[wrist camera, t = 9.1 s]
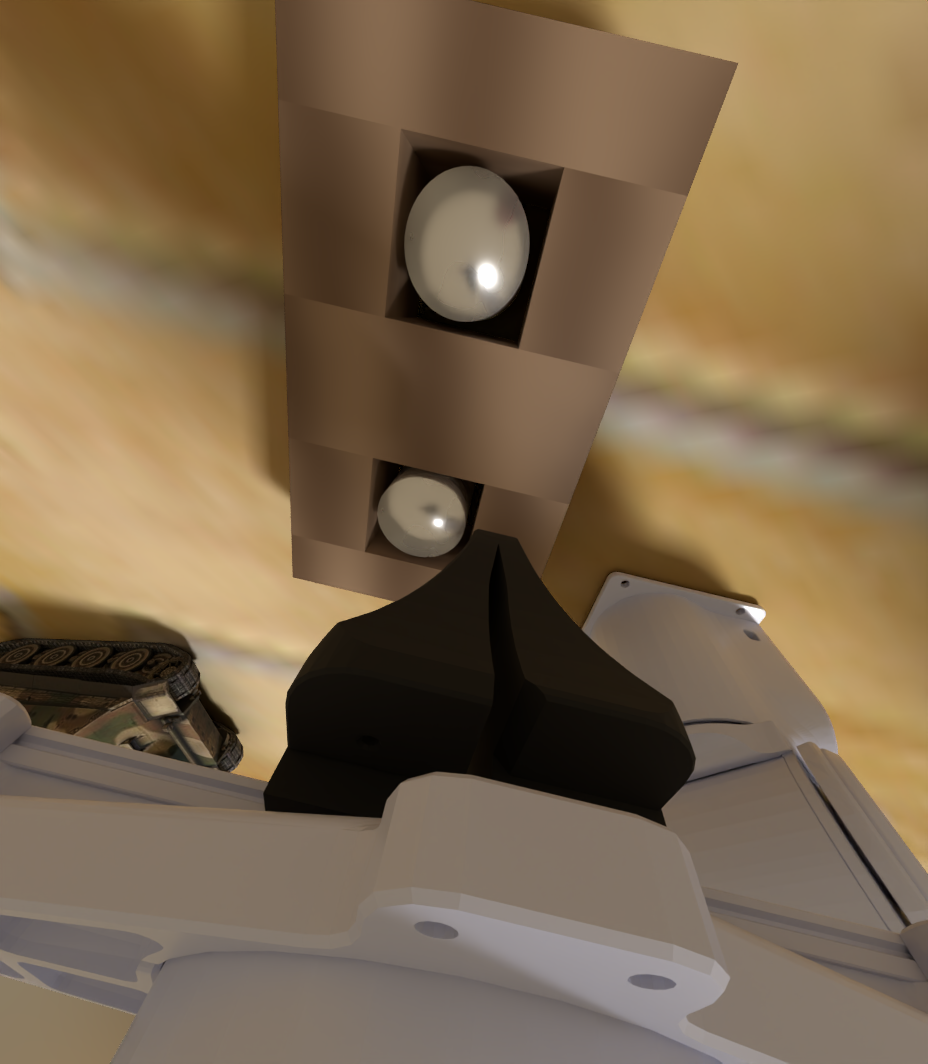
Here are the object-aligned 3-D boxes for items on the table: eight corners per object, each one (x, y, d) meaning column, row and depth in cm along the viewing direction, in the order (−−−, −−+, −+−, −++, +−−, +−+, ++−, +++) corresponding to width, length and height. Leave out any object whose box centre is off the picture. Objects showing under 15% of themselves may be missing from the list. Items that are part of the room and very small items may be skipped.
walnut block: (669, 142, 14) (738, 62, 10) (519, 574, 24) (520, 631, 20) (348, 67, 14) (273, -46, 10) (333, 530, 24) (292, 577, 20)
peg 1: (538, 219, 15) (546, 183, 11) (511, 329, 17) (510, 333, 13) (440, 196, 15) (413, 151, 11) (426, 309, 17) (397, 306, 13)
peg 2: (482, 454, 20) (473, 490, 16) (467, 519, 22) (455, 565, 18) (409, 437, 20) (381, 468, 16) (400, 503, 22) (373, 546, 18)
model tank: (260, 738, 37) (123, 964, 24) (66, 724, 40) (-147, 917, 27) (208, 640, 31) (-14, 872, 18) (-16, 632, 34) (-345, 827, 21)
